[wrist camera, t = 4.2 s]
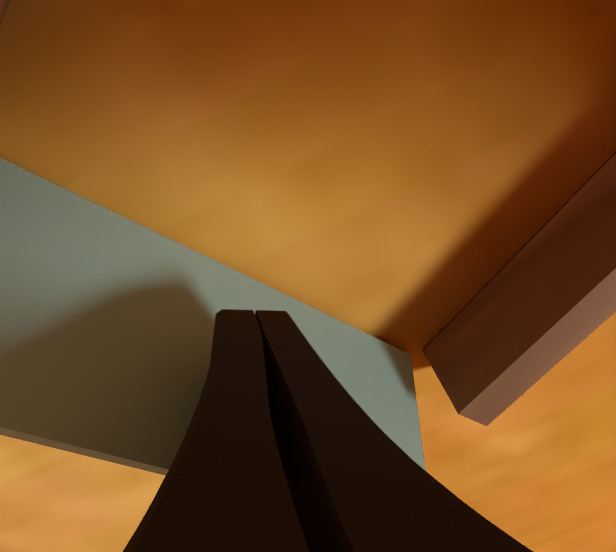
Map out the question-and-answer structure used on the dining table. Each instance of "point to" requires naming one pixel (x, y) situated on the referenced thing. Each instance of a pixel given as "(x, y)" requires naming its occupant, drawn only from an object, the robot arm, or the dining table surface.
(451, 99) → the dining table surface
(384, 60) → the dining table surface
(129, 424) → the panel
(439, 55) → the dining table surface
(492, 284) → the cart frame
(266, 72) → the dining table surface
